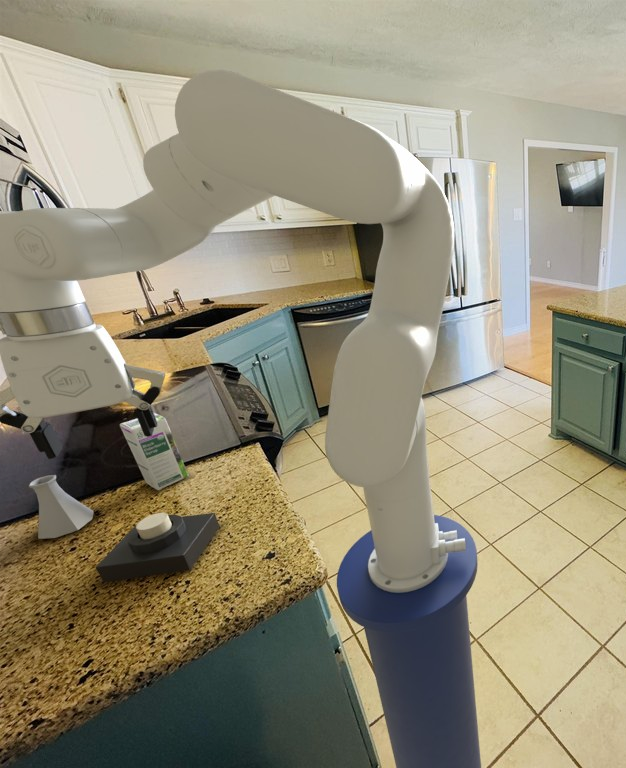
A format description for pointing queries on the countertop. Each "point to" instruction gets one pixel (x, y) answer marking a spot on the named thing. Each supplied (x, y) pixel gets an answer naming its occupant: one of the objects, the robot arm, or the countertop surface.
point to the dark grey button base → (160, 549)
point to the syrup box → (155, 453)
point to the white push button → (153, 526)
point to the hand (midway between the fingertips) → (105, 442)
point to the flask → (58, 509)
